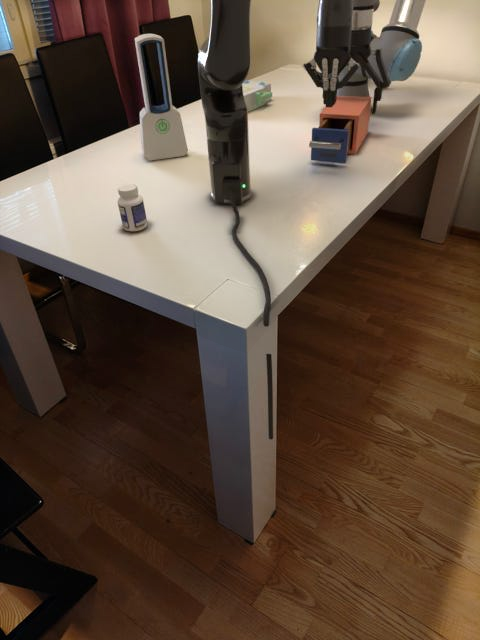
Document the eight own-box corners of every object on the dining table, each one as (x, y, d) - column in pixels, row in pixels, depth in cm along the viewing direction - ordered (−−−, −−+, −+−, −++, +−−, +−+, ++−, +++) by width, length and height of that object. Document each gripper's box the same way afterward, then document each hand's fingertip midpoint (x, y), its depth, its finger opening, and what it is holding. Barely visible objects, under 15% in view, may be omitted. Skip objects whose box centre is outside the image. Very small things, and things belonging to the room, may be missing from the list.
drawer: (340, 171, 122) (343, 138, 117) (304, 167, 125) (306, 135, 120) (358, 141, 139) (361, 111, 134) (326, 139, 142) (328, 109, 137)
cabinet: (355, 154, 134) (359, 115, 127) (317, 151, 137) (319, 113, 131) (367, 132, 148) (371, 97, 141) (333, 130, 151) (336, 95, 145)
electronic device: (145, 161, 137) (124, 39, 118) (142, 153, 142) (122, 35, 124) (188, 155, 139) (175, 34, 121) (184, 147, 145) (170, 31, 126)
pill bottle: (149, 220, 107) (142, 181, 102) (146, 231, 103) (138, 191, 98) (125, 221, 107) (116, 182, 102) (121, 232, 103) (112, 193, 98)
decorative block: (236, 77, 186) (280, 82, 177) (237, 95, 190) (280, 101, 181) (193, 93, 170) (239, 99, 161) (195, 112, 174) (240, 119, 165)
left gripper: (368, 19, 107) (360, 103, 117) (309, 20, 111) (306, 101, 121) (361, 24, 101) (353, 112, 112) (300, 25, 105) (298, 109, 116)
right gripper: (407, 25, 128) (396, 110, 141) (315, 25, 136) (312, 105, 149) (404, 30, 123) (392, 117, 136) (307, 30, 131) (305, 112, 144)
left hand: (329, 106), depth 117 cm, fingers closed
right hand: (350, 111), depth 142 cm, fingers open, 13 cm apart
